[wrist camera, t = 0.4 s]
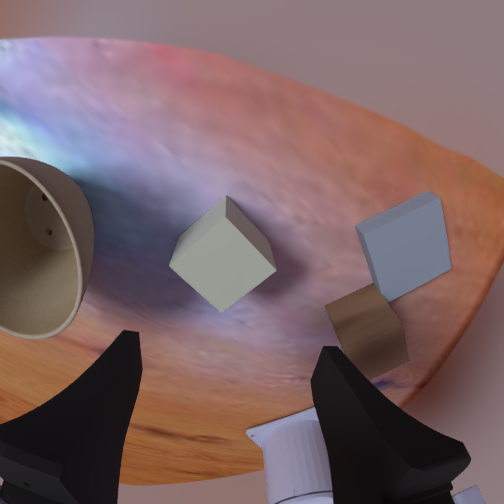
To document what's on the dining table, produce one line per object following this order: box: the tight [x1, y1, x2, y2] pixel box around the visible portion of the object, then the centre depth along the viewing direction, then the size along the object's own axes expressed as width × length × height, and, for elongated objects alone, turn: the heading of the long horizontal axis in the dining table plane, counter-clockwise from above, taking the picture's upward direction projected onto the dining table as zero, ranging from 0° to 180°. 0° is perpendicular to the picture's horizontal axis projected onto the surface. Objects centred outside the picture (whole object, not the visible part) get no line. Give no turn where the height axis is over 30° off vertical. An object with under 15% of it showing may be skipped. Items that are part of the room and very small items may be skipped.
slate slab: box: [355, 191, 451, 303], centre depth 21 cm, size 6×6×2 cm
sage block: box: [169, 195, 277, 313], centre depth 19 cm, size 4×4×4 cm
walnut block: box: [325, 283, 409, 380], centre depth 22 cm, size 4×4×5 cm
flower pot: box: [0, 157, 94, 340], centre depth 15 cm, size 10×10×7 cm
